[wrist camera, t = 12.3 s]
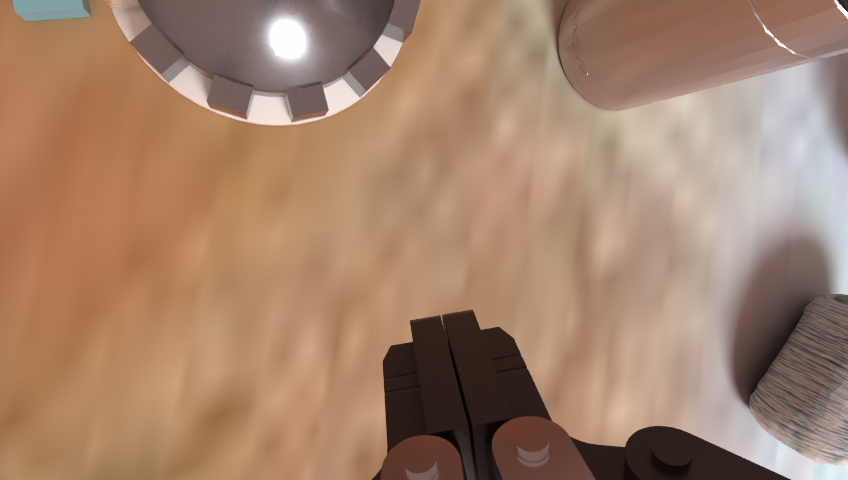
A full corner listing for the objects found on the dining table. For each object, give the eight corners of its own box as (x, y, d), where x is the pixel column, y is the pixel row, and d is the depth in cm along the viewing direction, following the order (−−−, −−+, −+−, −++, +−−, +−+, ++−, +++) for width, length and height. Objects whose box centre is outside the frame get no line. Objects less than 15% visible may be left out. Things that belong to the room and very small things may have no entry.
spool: (840, 253, 40) (995, 339, 33) (837, 305, 47) (965, 387, 40) (705, 362, 41) (826, 470, 34) (719, 399, 48) (824, 496, 41)
